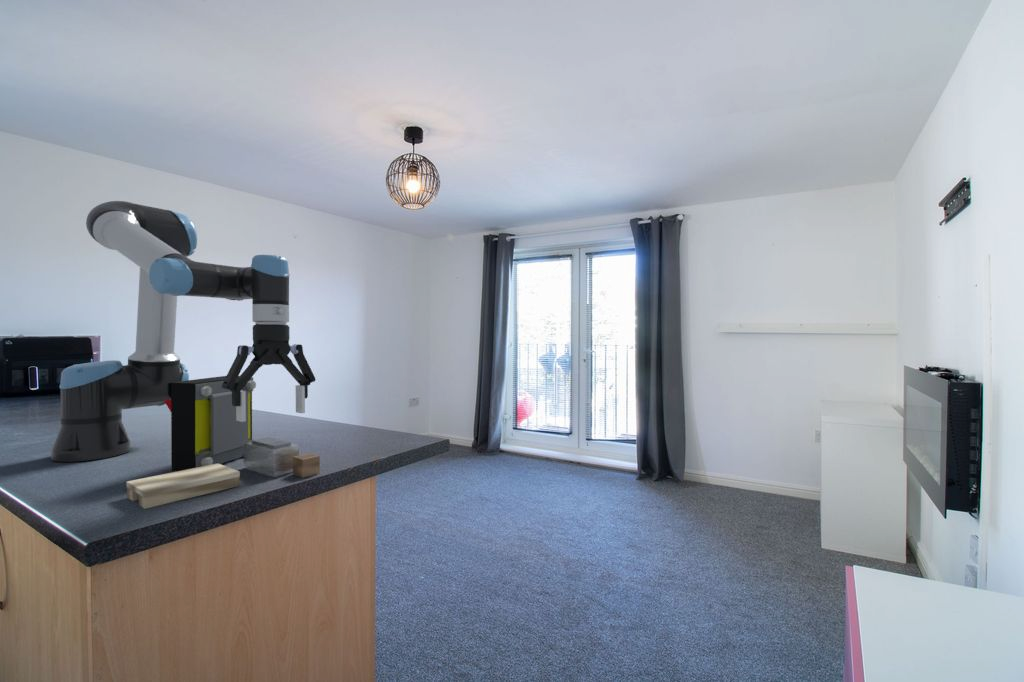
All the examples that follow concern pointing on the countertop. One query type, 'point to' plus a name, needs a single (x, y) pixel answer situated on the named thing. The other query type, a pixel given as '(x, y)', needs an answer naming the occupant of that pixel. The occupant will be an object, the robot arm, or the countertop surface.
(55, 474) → the countertop surface
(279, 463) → the block
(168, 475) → the stand
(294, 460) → the walnut block
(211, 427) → the electrical component
